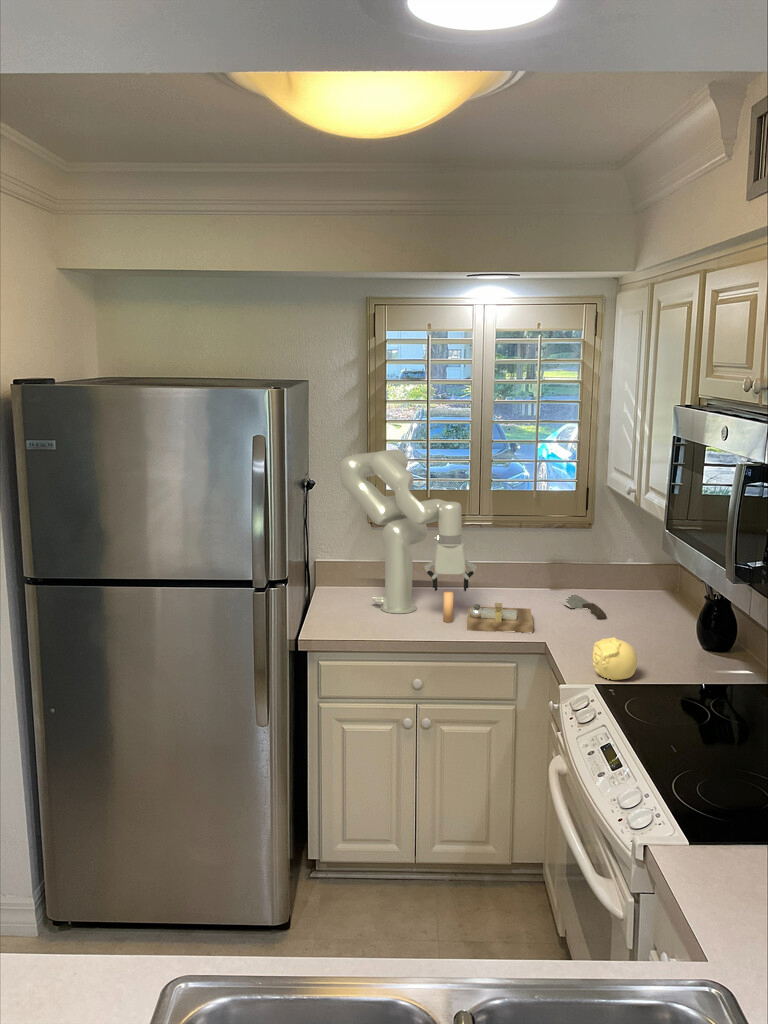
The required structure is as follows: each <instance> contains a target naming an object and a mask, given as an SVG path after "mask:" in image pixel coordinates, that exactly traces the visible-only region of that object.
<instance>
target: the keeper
mask: <svg viewBox="0 0 768 1024" xmlns="http://www.w3.org/2000/svg"><path fill="white" fill-rule="evenodd" d="M494 607H495V622H501V619H502V608H503V603H502V602H494Z"/></svg>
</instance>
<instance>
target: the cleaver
mask: <svg viewBox="0 0 768 1024" xmlns="http://www.w3.org/2000/svg"><path fill="white" fill-rule="evenodd" d="M570 595H571V597H568V598H569V599H566V600H568V601H566V602H567V603H568V604H569V605H570V607H571V608H588V609H590V610H591V611H590V610H589V611H590V614H592V615H593V614H594V615H593V616H595V617H596V619H597V620H606V618H607V614H606V613H605V611H603V609H602V608H601V607H599V606H598V605H597V604H596V603H593V602H590V601H588V600H586V599H585V598H583V597H582V596H579V595H577V594H570ZM588 609H587V610H588Z"/></svg>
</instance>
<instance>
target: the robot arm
mask: <svg viewBox="0 0 768 1024" xmlns="http://www.w3.org/2000/svg"><path fill="white" fill-rule="evenodd" d="M408 461H409V460H408V457H407V455H406V454H405V453H404V452H403V451H402V450H400V449H396V448H395V449H386V450H380V451H374V452H373V451H372V452H364V453H356V454H352V455H351V454H350V455H348V456H345V457H344V458H343V459H342V460H341V462H340V463H339V465H338V477H339V481H340V482H341V485H342V487H343V488H344V489H345V490H346V492H347V493H348V494H349V495H350V496H352V498H353V499H354V500H355V501H356V502H357V504H358V506H360V507H361V509H362V510H363V511H364V513H365V514H366V515H367V516H368V517H369V518H370V520H371V521H372V522H373V523H375V524H376V525H381V526H382V525H384V527H383V530H382V533H381V536H382V543H383V547H384V569H385V571H384V595H381V596H378V595H373V596H372V602H374V603H375V604H380V610H382V611H383V612H384V613H390V614H408V613H412V612H415V611H416V610H417V604H415V603H414V602H413V556H412V553H411V551H410V547H409V546H412V545H416V544H419V543H422V542H424V540H426V538H427V536H428V526H427V525H428V524H431V523H436V522H438V535H435V536H433V537H434V538H433V539H434V541H437V543H436V545H435V552H434V553H435V554H434V560H432V561H430V562H428V563H426V564H424V566H423V567H424V569H425V571H426V574H427V575H428V576H429V577H430V578H431V579H432V589H434V592H437V591H438V576H439V575H442V576H443V575H448V576H449V575H451V576H452V575H456V576H457V575H458V576H460V575H461V576H463V592H467V589H469V579H470V578H471V577H472V576H473V575H474V573H475V572H476V570H477V568H478V567H477V564H475V563H473V562H471V561H469V560H466V559H467V558H466V557H467V556H466V550H465V544H464V542H462V541H463V540H462V538H463V537H462V531H463V529H462V527H463V526H462V524H463V523H462V505H461V503H460V502H458V501H446V500H443V499H439V498H434V499H426V500H423V501H419V499H417V497H415V496H414V495H413V494H412V492H411V490H410V489H411V487H412V486H413V485H414V481H415V477H414V475H413V474H412V473H411V472H410V471H409V470H408V469H407V468H408V464H409V462H408ZM374 476H378V478H379V479H381V481H383V483H385V485H386V486H388V487H389V489H390V490H392V492H394V494H395V495H388V496H385V495H384V494H383V493H381V491H380V490H379V489H378V487H376V485H375V484H373V483H372V482H371V481H369V480H367V479H366V478H369V477H374ZM433 566H434V572H433V571H432V570H431V567H433ZM466 567H469V568H471V569H470V571H468V572H467V568H466Z"/></svg>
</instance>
